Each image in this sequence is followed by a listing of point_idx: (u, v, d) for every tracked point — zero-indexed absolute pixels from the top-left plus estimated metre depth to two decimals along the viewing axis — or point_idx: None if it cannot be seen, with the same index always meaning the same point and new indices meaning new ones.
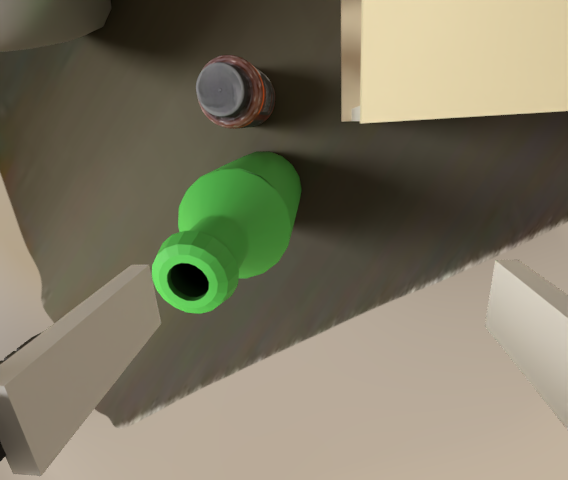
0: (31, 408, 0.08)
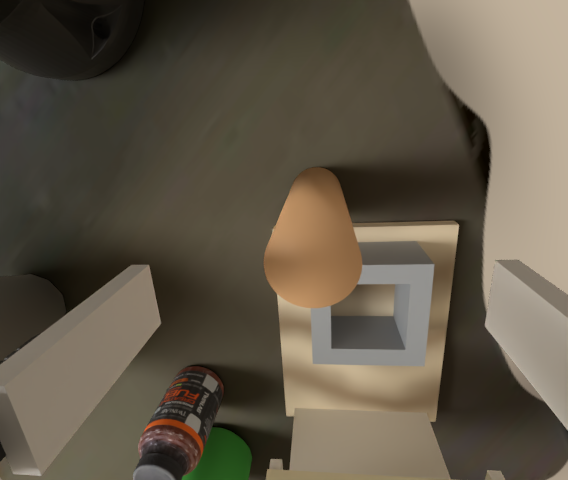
0: (31, 408, 0.08)
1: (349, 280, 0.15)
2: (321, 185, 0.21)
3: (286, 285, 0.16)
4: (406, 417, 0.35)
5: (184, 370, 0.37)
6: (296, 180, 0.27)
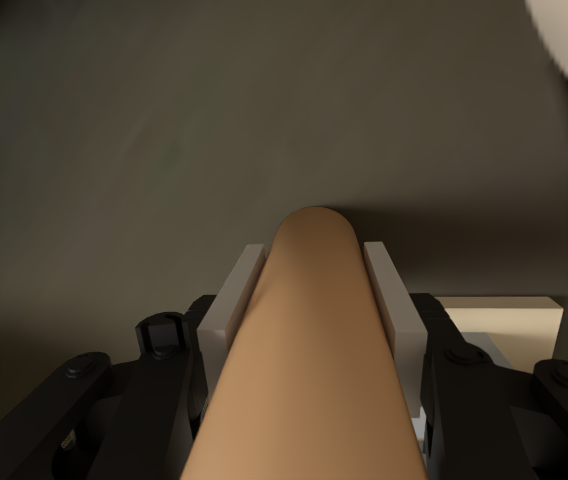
0: None
1: None
2: (325, 279, 0.09)
3: None
4: None
5: None
6: (279, 236, 0.15)
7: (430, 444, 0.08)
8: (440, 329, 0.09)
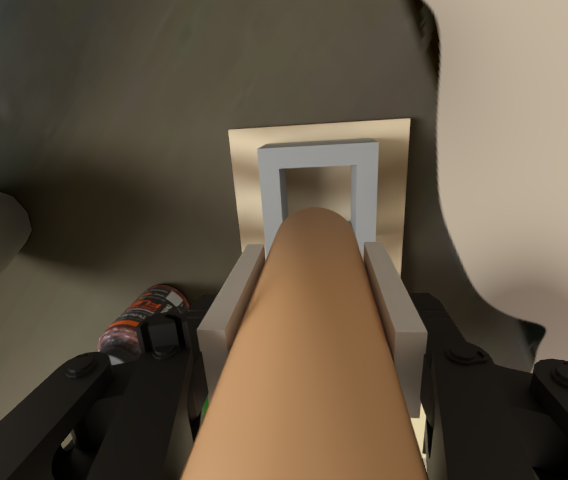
0: None
1: None
2: (325, 280, 0.09)
3: None
4: None
5: (150, 288, 0.38)
6: (278, 237, 0.15)
7: (430, 444, 0.08)
8: (439, 329, 0.09)
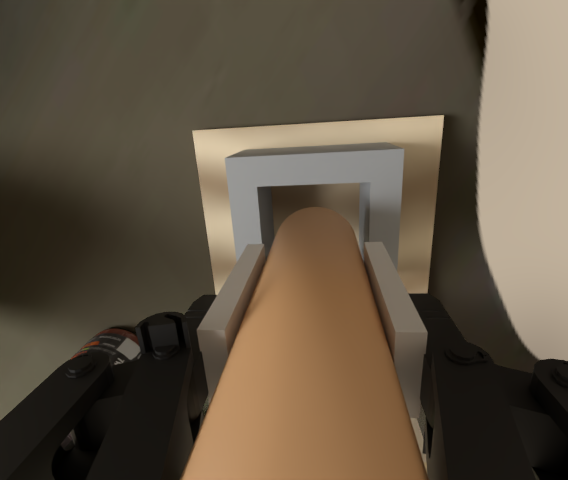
0: None
1: None
2: (325, 278, 0.10)
3: None
4: None
5: (100, 333, 0.30)
6: (279, 236, 0.15)
7: (430, 444, 0.08)
8: (439, 329, 0.09)
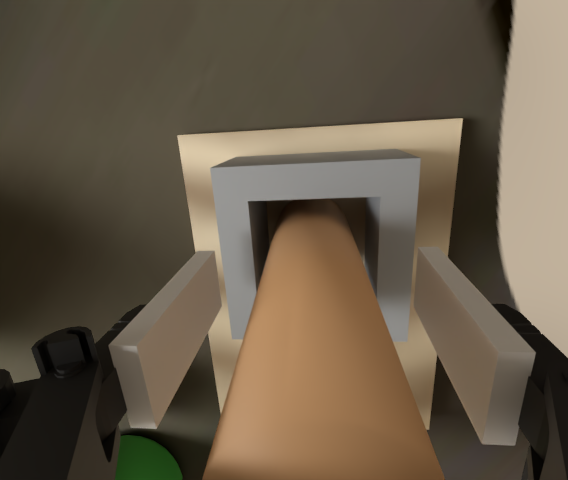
0: (150, 368, 0.09)
1: None
2: (325, 244, 0.12)
3: None
4: None
5: None
6: (282, 219, 0.18)
7: (536, 472, 0.07)
8: (534, 346, 0.08)
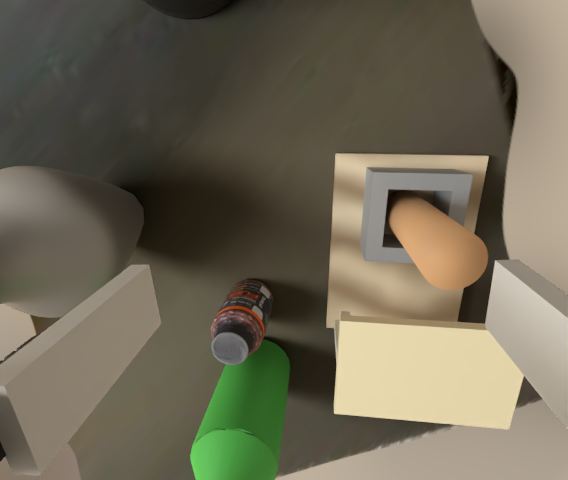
0: (31, 408, 0.08)
1: (477, 272, 0.23)
2: (431, 206, 0.30)
3: (433, 273, 0.24)
4: None
5: (242, 281, 0.44)
6: (395, 200, 0.35)
7: None
8: None
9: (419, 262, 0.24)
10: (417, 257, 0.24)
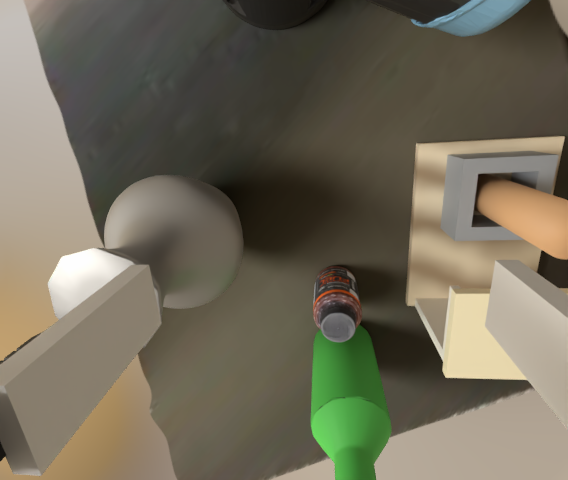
0: (31, 408, 0.08)
1: None
2: (527, 187, 0.33)
3: (553, 245, 0.27)
4: None
5: (327, 268, 0.47)
6: (480, 183, 0.38)
7: None
8: None
9: (540, 236, 0.27)
10: (536, 232, 0.27)
